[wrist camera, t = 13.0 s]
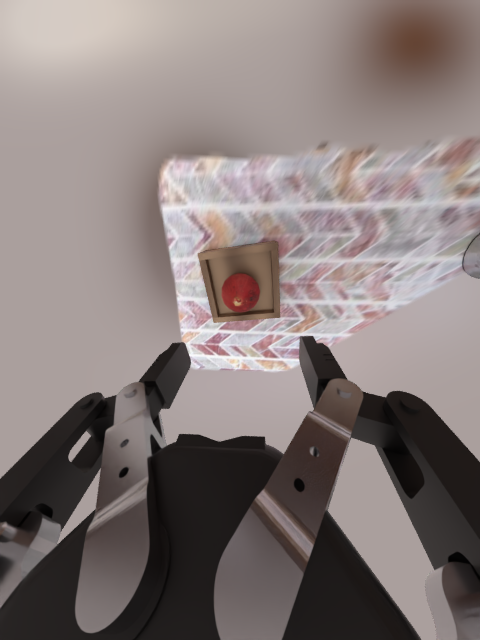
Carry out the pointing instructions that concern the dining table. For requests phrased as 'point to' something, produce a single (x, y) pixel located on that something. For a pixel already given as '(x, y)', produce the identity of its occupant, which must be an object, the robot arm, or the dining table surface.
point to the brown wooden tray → (245, 260)
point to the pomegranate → (240, 292)
